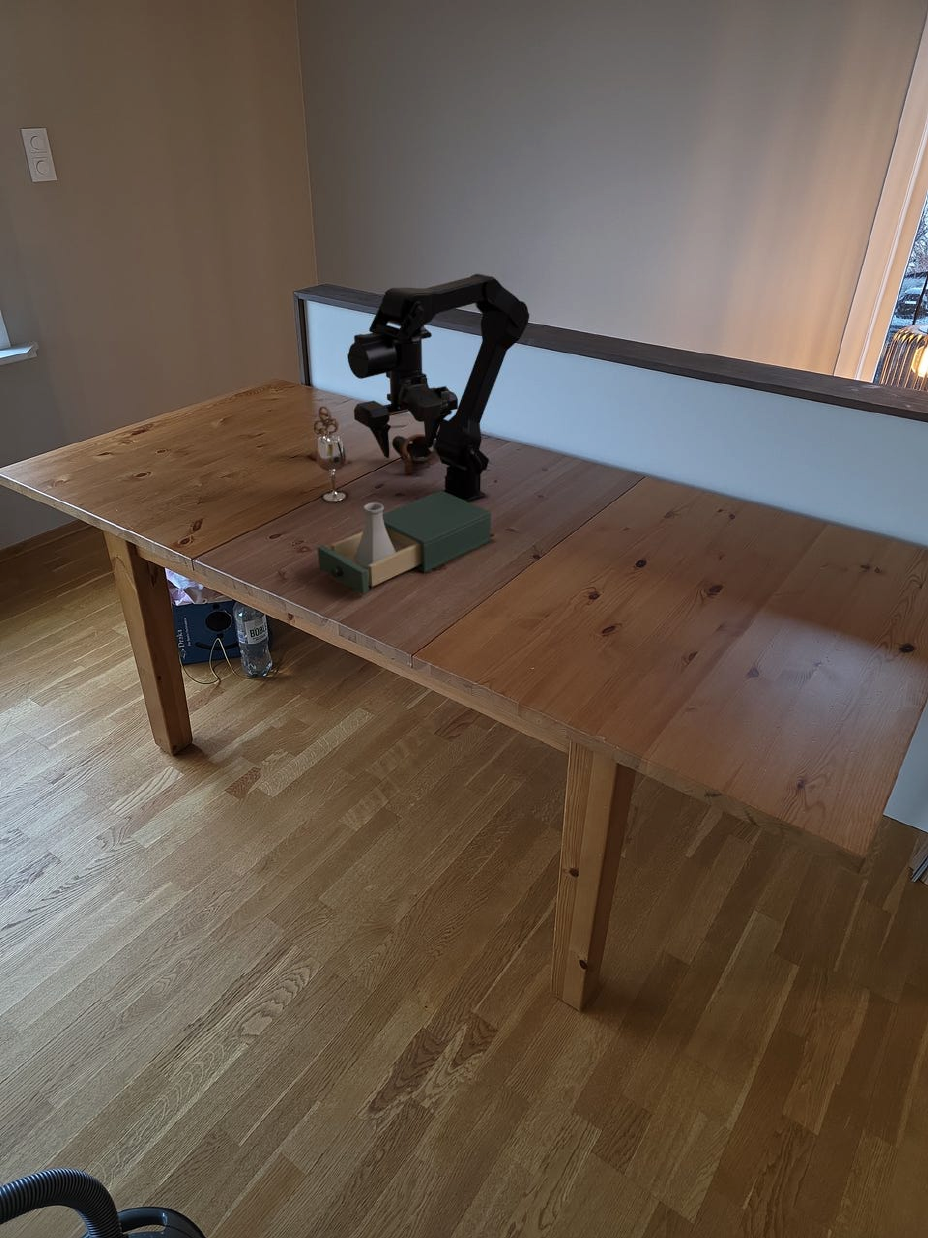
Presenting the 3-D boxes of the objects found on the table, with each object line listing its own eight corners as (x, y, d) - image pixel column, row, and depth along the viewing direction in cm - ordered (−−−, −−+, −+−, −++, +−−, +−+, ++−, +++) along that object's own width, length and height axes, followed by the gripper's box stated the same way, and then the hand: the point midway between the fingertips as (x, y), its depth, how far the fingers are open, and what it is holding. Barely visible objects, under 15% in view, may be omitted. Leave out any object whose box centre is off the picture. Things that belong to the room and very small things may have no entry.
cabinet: (424, 572, 137) (424, 542, 133) (375, 546, 144) (374, 517, 141) (490, 541, 146) (491, 511, 143) (441, 518, 154) (441, 490, 151)
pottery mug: (448, 463, 178) (448, 439, 170) (427, 494, 174) (426, 471, 167) (402, 441, 180) (400, 417, 173) (380, 471, 177) (377, 447, 169)
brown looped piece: (309, 456, 179) (304, 404, 173) (323, 452, 182) (318, 399, 175) (334, 467, 174) (330, 413, 168) (348, 462, 176) (344, 409, 170)
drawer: (357, 597, 128) (355, 575, 126) (313, 571, 135) (311, 549, 133) (432, 562, 138) (432, 540, 136) (388, 539, 145) (387, 518, 143)
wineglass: (343, 504, 159) (338, 446, 152) (316, 501, 160) (310, 443, 153) (352, 492, 164) (348, 435, 157) (325, 489, 165) (320, 433, 158)
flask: (406, 561, 136) (404, 507, 130) (371, 574, 132) (367, 520, 127) (381, 545, 141) (378, 493, 135) (347, 558, 137) (342, 504, 131)
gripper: (382, 388, 129) (386, 478, 138) (476, 369, 138) (474, 455, 147) (349, 371, 137) (355, 457, 145) (440, 354, 146) (441, 437, 154)
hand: (408, 452), depth 148 cm, fingers open, 9 cm apart
